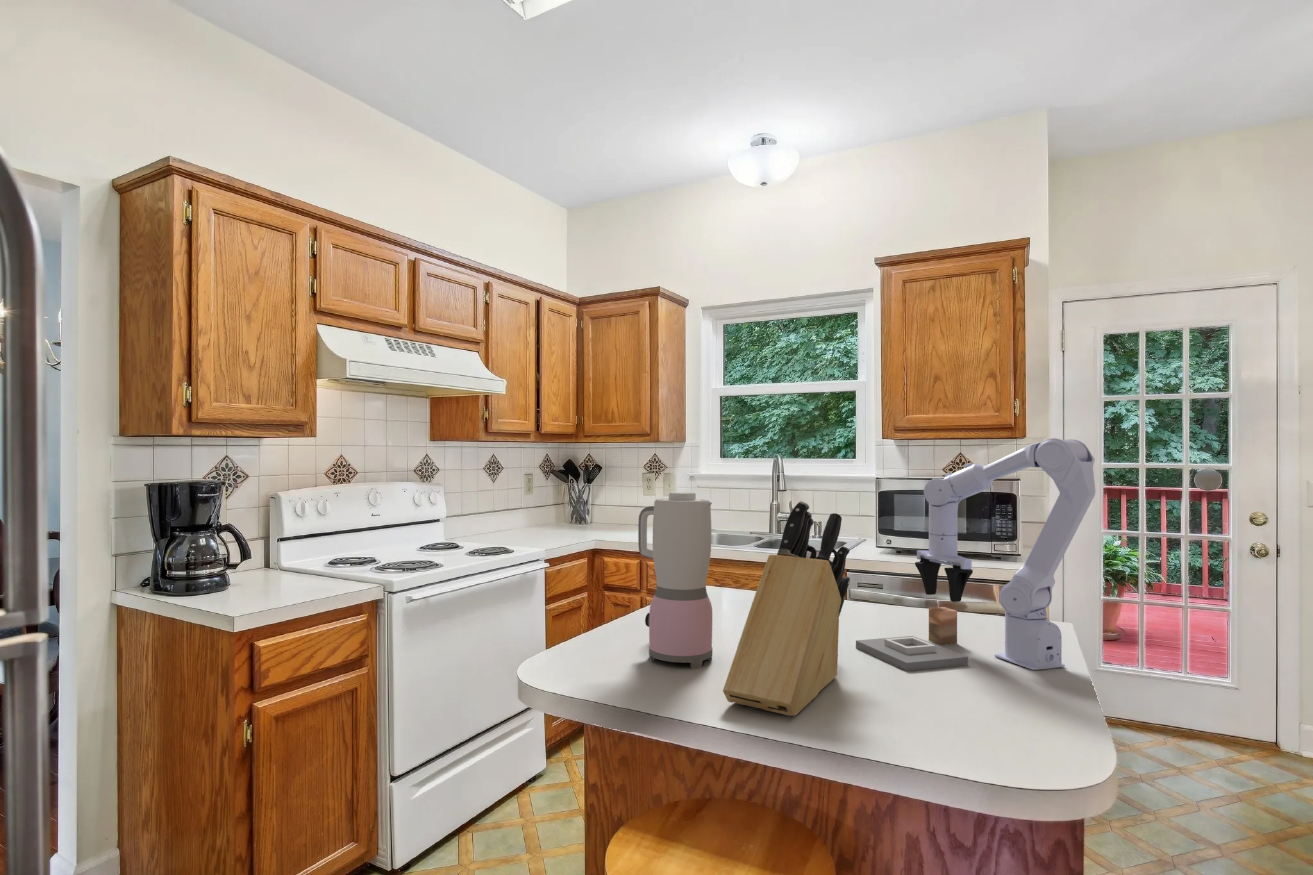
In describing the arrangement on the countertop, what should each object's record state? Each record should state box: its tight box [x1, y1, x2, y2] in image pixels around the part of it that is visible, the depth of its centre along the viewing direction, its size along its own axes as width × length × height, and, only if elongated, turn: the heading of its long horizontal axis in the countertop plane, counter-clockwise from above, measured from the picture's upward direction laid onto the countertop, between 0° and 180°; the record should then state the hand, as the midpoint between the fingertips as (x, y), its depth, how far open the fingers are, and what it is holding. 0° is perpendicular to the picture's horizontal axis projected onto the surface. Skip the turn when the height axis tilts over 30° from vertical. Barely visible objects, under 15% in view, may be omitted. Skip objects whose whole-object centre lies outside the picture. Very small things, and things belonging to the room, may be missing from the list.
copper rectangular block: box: [928, 606, 958, 646], centre depth 148 cm, size 4×4×7 cm
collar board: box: [855, 635, 969, 672], centre depth 137 cm, size 16×14×3 cm
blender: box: [637, 491, 713, 669], centre depth 134 cm, size 16×12×32 cm
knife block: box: [722, 500, 851, 717], centre depth 119 cm, size 11×35×31 cm, turn 150°
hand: (942, 597), depth 148 cm, fingers open, 7 cm apart
